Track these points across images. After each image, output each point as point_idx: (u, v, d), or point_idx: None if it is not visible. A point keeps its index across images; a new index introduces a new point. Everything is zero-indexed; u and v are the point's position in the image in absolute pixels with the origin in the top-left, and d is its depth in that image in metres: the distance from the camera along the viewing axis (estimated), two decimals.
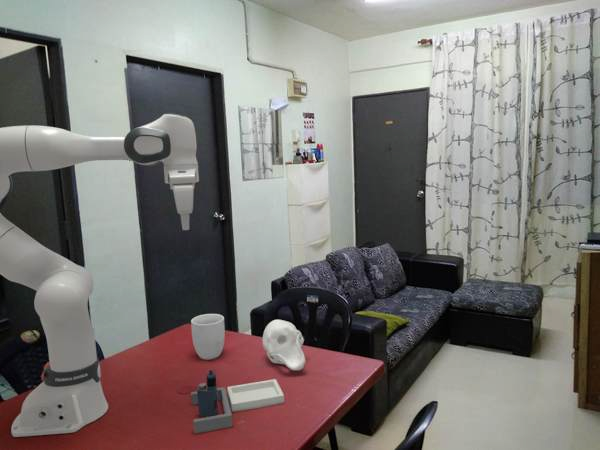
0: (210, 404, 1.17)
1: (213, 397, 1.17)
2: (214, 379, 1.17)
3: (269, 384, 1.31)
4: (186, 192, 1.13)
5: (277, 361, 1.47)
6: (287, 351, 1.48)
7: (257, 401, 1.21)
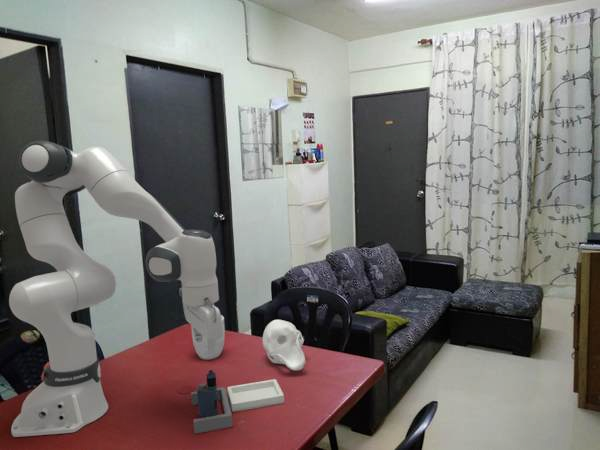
0: (210, 404, 1.17)
1: (213, 397, 1.17)
2: (214, 379, 1.17)
3: (269, 384, 1.31)
4: None
5: (277, 361, 1.47)
6: (287, 351, 1.48)
7: (257, 401, 1.21)
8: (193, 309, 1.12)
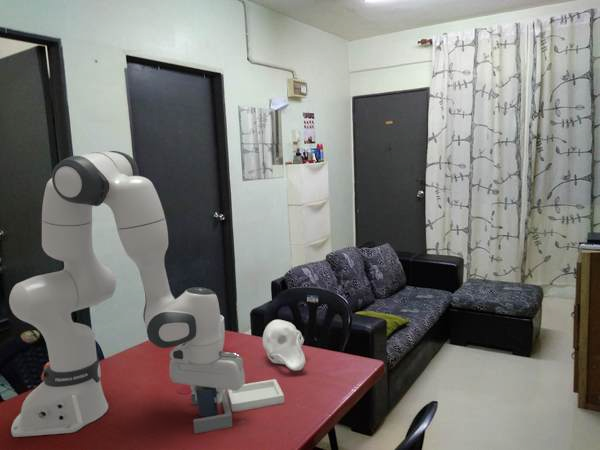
0: (210, 403, 1.17)
1: (212, 396, 1.17)
2: None
3: (269, 384, 1.31)
4: None
5: (277, 361, 1.47)
6: (287, 351, 1.48)
7: (257, 401, 1.21)
8: (206, 366, 1.14)
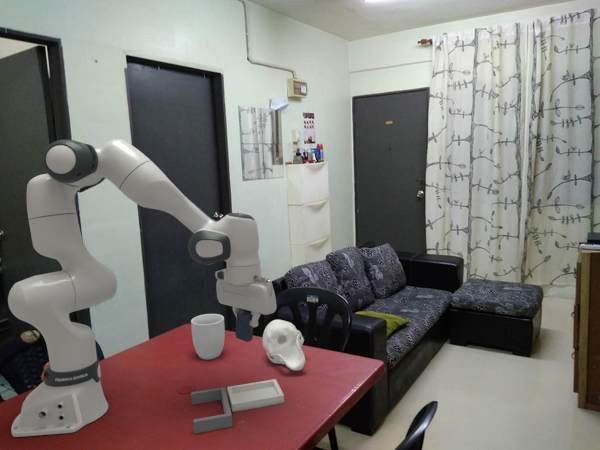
0: (245, 329, 1.22)
1: (249, 323, 1.21)
2: None
3: (269, 384, 1.31)
4: None
5: (277, 361, 1.47)
6: (287, 351, 1.48)
7: (257, 401, 1.21)
8: (241, 287, 1.18)
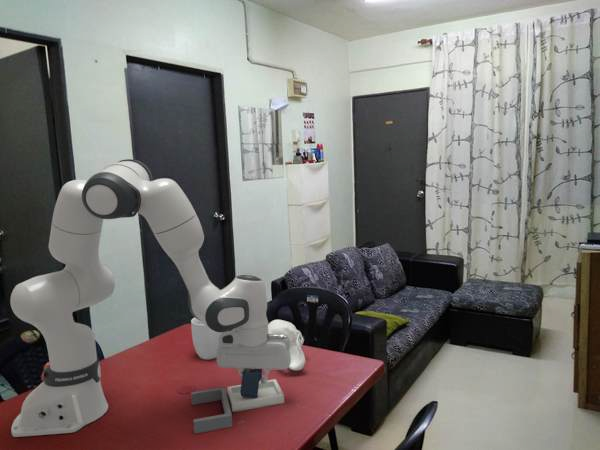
0: (255, 386, 1.24)
1: (258, 379, 1.24)
2: None
3: (269, 384, 1.31)
4: None
5: None
6: None
7: (257, 401, 1.21)
8: (256, 348, 1.21)
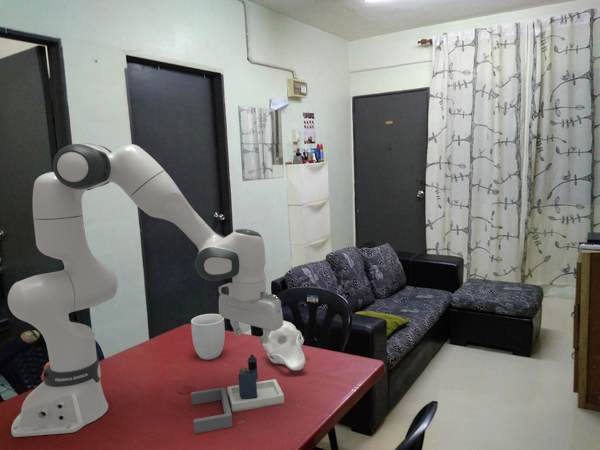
0: (252, 386, 1.24)
1: (255, 380, 1.24)
2: (256, 362, 1.24)
3: (269, 384, 1.31)
4: None
5: (277, 361, 1.47)
6: (287, 351, 1.48)
7: (257, 401, 1.21)
8: (248, 304, 1.20)
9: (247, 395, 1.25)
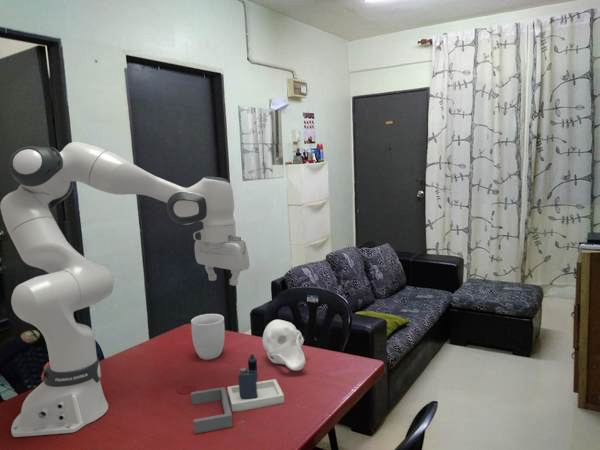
0: (252, 386, 1.24)
1: (255, 380, 1.24)
2: (256, 363, 1.24)
3: (269, 384, 1.31)
4: None
5: (277, 361, 1.47)
6: (287, 351, 1.48)
7: (257, 401, 1.21)
8: (217, 246, 1.26)
9: (247, 395, 1.25)
